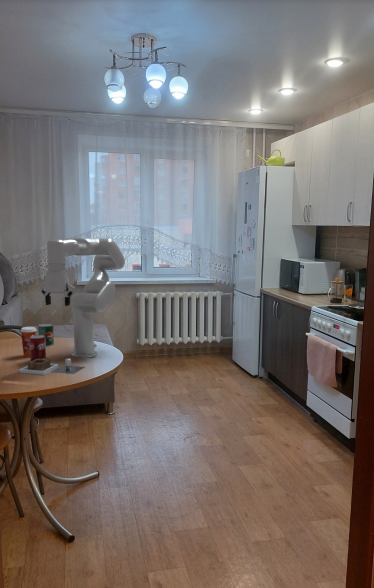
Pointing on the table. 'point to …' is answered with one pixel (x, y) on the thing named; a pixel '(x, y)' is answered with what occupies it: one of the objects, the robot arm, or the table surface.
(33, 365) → the brown hollow square block
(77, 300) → the robot arm
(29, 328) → the paper cup
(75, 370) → the grey peg base
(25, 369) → the tray
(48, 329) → the canned tomato
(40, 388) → the table surface
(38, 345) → the soda can
